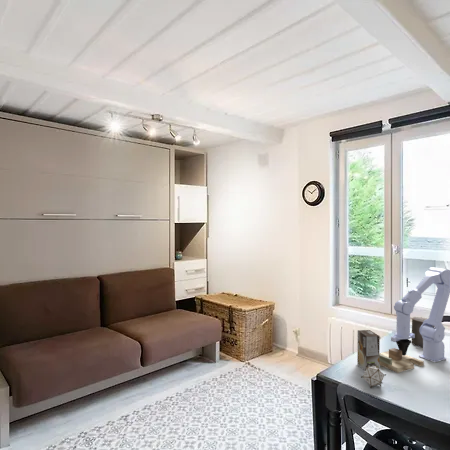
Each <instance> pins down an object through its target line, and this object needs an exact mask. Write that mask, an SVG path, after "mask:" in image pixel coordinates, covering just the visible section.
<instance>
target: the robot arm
mask: <svg viewBox="0 0 450 450" xmlns="http://www.w3.org/2000/svg"><path fill="white" fill-rule="evenodd" d="M433 284H434V285H435V286H436V289H437V290H436V293H435V295H434V298H433V302H432V306H431V309H430V313H429V316H428V318H427V319H426V320H424V322H423V324H422V325H421V327H420V330H419V331H420V334H421V335H422V338H423V347H422V354H419V356H418V357H419V358H422V359H425V360H427V361H430V362H433V363H436V362H440V361H444V360H447V357H445V343H444V341H443V340H445V335H446V334H445V330H446V327H445V326H444V325H443V323H442V321H443V318H444V314H445V311H446V308H447V304H448V301H449V297H450V269H448V268H447V269H446V268H440V267H432V266H431V267H428V269H427V271H425V275H424V277H423V278H422V280H421V281H420V282H419V283H418V285H417V286H416V287H415V288H411V289H409V290H408V291H407V292H406V294H405V295H404V296H403V297H402V298H401V300H400V299H399V300H397V301H396V302H395V303H394V305H393V309H394V311H395V314H396V332H395V333H394V335H393V336H391V337H390V341H391V342H393V343H396V345H397V347H398V348H397V349H399V350H401V351H402V355H403V356H404V355H407V352H408V350H409V346H410V345H411V344H412V343H411V342H412V338H415V334H413V333H412V332H411V314H412V313H413V311H414V308H415V306H416V305H417V303H418V302H420V300H421V299H422V297H423V296H422V294H423V293H424V292H425V291H426V290H427V289H429V288H430V287H431V286H432V285H433ZM410 339H411V340H410Z"/></svg>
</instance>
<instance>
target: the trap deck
mask: <svg viewBox="0 0 450 450" xmlns="http://www.w3.org/2000/svg"><path fill="white" fill-rule="evenodd" d="M415 365H416V366H419V367H424V366H425V362H424V360H421V359H419V358H417V357H416V358H415V357H412V356H411V355H408V354H406V355H404V356H403V355H402V359H401V360H397V361H396V360H393V359H391V358H389V350H387V351H383V352H379V366H381V367H383V368H386V369H387V370H391V371H392V372H395V373H403V372H406V371H410V370H413V369H415Z"/></svg>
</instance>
